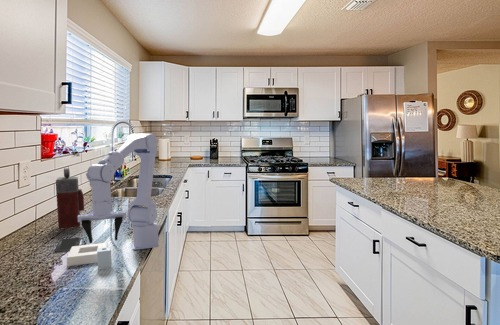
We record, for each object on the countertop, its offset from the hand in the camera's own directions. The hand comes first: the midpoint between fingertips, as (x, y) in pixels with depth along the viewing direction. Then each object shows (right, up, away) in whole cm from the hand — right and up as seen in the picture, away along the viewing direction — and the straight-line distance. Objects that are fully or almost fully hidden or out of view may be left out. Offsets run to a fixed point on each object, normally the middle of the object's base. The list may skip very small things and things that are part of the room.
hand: (103, 241), depth 113 cm
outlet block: (-9, -8, +9) cm, 15 cm away
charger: (0, -9, +1) cm, 9 cm away
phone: (-24, -8, +23) cm, 34 cm away
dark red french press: (-38, -5, +53) cm, 65 cm away
